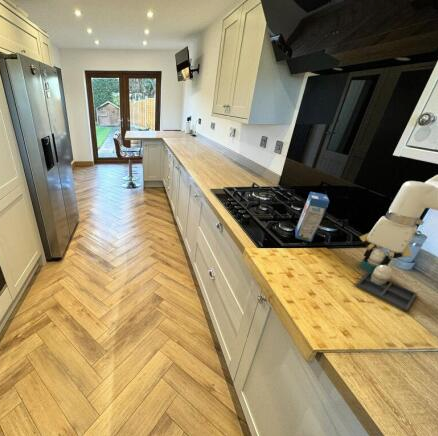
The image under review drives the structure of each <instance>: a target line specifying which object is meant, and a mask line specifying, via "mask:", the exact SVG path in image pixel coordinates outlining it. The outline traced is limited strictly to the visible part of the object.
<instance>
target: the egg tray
mask: <svg viewBox="0 0 438 436" xmlns="http://www.w3.org/2000/svg"><path fill="white" fill-rule="evenodd" d="M371 275H372V273H371V272H367V273H366V274H365V275H364V276H363V277H362V278H361V279H360V280H358V282H357V283H356V284H355V287H356V288H357V289H360V290H361V291H364V292H365V293H368V294H369V295H372V296H374V297H376V298H377V299H379V300H381V301H383V302H385V303H387V304H390V305H391V306H394V307H396V308H397V309H399V310H401V311H403V312H405V313H407V311H408V310H409V308H410V307H411V305H412V304H413V302H414V300H415V298H416V296H417V295H418V293H417V292H415V291H412V290H410V289H408V288H406V287H404V286H401V285H399V284H398V283H395V282H392V281H390V280H388V281H387V282H386V283H384V284H383V285H379V284H377V283H375V282H372V281H371Z"/></svg>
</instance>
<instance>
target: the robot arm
mask: <svg viewBox="0 0 438 436" xmlns="http://www.w3.org/2000/svg"><path fill="white" fill-rule="evenodd" d="M426 209H431V210H434V211H438V174H436V175H434V176H433V177H431V178H429V179H427V180H426V181H423V182H422V181H416V180H408V181H405V182H404V183H402V185H401V187H400V189H399V190H398V192H397V194H396V195H395V197H394V199H393V201H392V202H391V204H390V206H389V208H388V210H387V212H386V213H385V215H383V216H381V217H380V218H379V219H378V221H376V223H375V224H374V226H373V227H372V229H371V230H370V231H369V232H367V233H364V234H362V235H360V236H359V239H360V240H361V241H362V242H363V245H364V246H365V248H366V250H365V252H364V254H363V258H364V259H365V260H367V259H368V257H369V255H370V253H371V252H372V251H373V250H374V247H375V246H378V247H381V248H382V249H383V248H384V249H386V250H388V251H389V252H388V254H387V257H386V258H385V259H384V261H383V262H382V264H381V265H386V266H388V265H389V264H390V262H391V261H392V259H398V258H410V257H411V256H412V252H411V248H410V244H411V242H412V241H413V239H414V236H415V234H416V232H417V230H418V226H417V225H420V226H423V224H425V221H424V220H422V219H421V216H422V214H423V213H424V211H425V210H426Z"/></svg>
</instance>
